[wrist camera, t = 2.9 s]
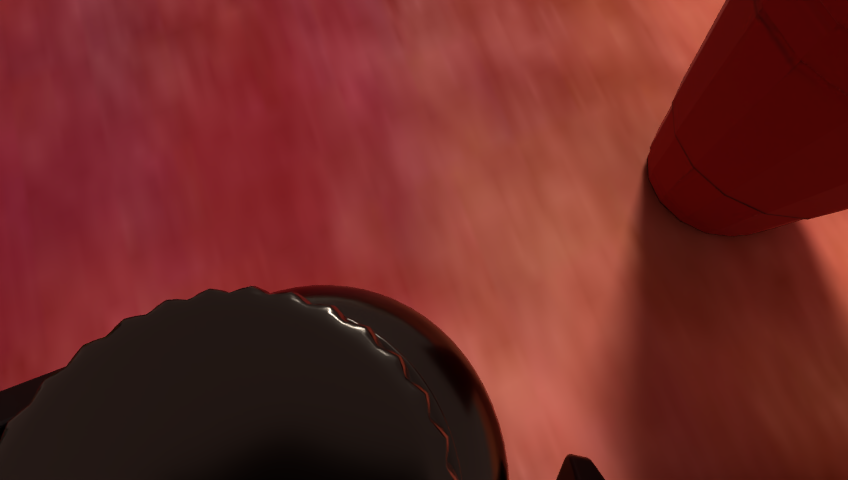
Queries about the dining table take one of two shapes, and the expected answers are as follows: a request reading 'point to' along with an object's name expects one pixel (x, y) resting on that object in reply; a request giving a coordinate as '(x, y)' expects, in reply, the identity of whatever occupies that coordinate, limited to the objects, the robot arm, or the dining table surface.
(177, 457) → the supplement bottle
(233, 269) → the dining table surface
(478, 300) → the dining table surface
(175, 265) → the dining table surface
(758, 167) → the plastic cup
